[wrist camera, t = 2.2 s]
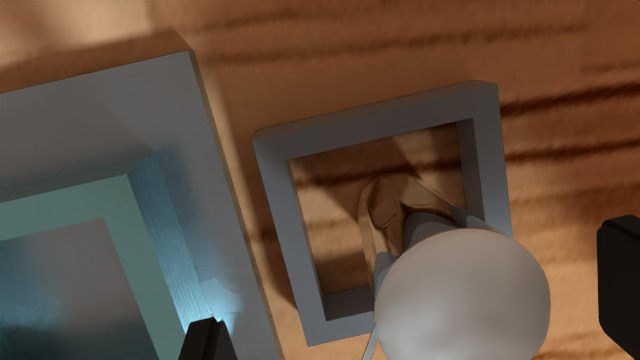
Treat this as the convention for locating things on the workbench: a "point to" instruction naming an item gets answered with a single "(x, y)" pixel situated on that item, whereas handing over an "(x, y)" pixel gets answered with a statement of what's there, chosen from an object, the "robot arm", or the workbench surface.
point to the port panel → (122, 220)
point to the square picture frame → (362, 126)
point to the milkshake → (446, 278)
